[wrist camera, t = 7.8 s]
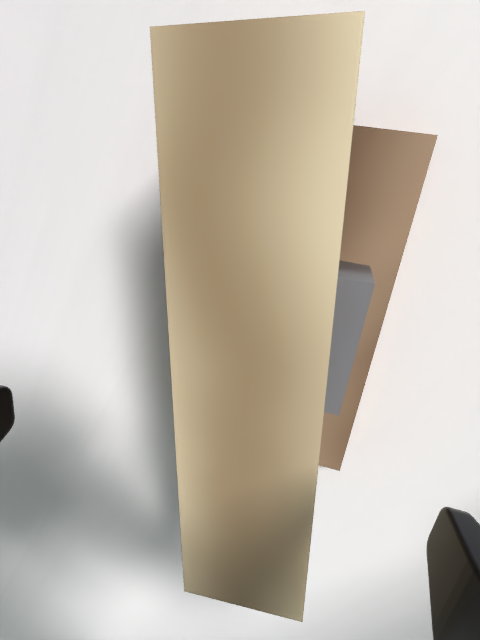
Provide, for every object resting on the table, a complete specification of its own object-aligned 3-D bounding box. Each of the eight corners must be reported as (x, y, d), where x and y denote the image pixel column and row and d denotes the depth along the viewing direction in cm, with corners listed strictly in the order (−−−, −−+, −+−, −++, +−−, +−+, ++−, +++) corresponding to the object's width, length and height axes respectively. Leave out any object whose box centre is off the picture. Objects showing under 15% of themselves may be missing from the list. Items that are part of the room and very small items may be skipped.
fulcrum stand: (431, 137, 13) (458, 128, 10) (339, 456, 19) (338, 514, 16) (209, 111, 15) (173, 95, 12) (183, 414, 20) (153, 460, 17)
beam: (357, 66, 10) (364, 11, 7) (311, 520, 16) (302, 621, 13) (212, 72, 11) (150, 26, 8) (218, 501, 17) (184, 591, 13)
